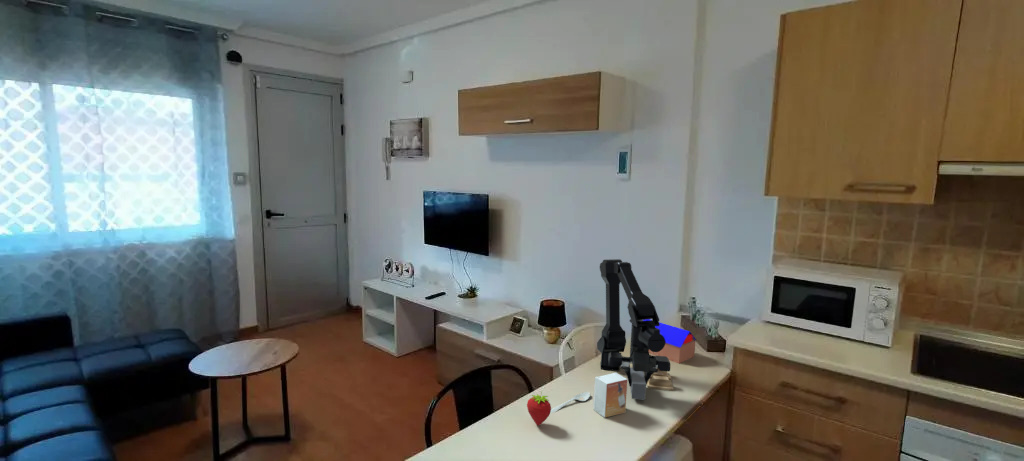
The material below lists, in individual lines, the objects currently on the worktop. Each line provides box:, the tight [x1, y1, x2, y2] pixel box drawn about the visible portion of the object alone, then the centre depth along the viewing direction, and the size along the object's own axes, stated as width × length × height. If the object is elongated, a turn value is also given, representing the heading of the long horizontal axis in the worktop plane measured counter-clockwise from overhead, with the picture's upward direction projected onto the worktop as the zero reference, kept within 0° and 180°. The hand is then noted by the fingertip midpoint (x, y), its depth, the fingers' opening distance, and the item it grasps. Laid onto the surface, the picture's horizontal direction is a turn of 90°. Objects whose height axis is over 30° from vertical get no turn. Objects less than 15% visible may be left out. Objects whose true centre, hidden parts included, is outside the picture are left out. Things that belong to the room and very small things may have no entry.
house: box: [643, 319, 697, 364], centre depth 191 cm, size 12×20×12 cm, turn 41°
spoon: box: [550, 391, 591, 414], centre depth 147 cm, size 4×21×2 cm, turn 129°
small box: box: [593, 372, 628, 419], centre depth 143 cm, size 8×6×10 cm
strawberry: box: [526, 391, 552, 426], centre depth 135 cm, size 6×8×10 cm
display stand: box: [644, 368, 674, 392], centre depth 165 cm, size 8×14×4 cm, turn 170°
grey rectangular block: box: [629, 366, 647, 401], centre depth 155 cm, size 4×12×5 cm, turn 170°
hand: (637, 386), depth 155 cm, fingers closed on grey rectangular block, 4 cm apart
